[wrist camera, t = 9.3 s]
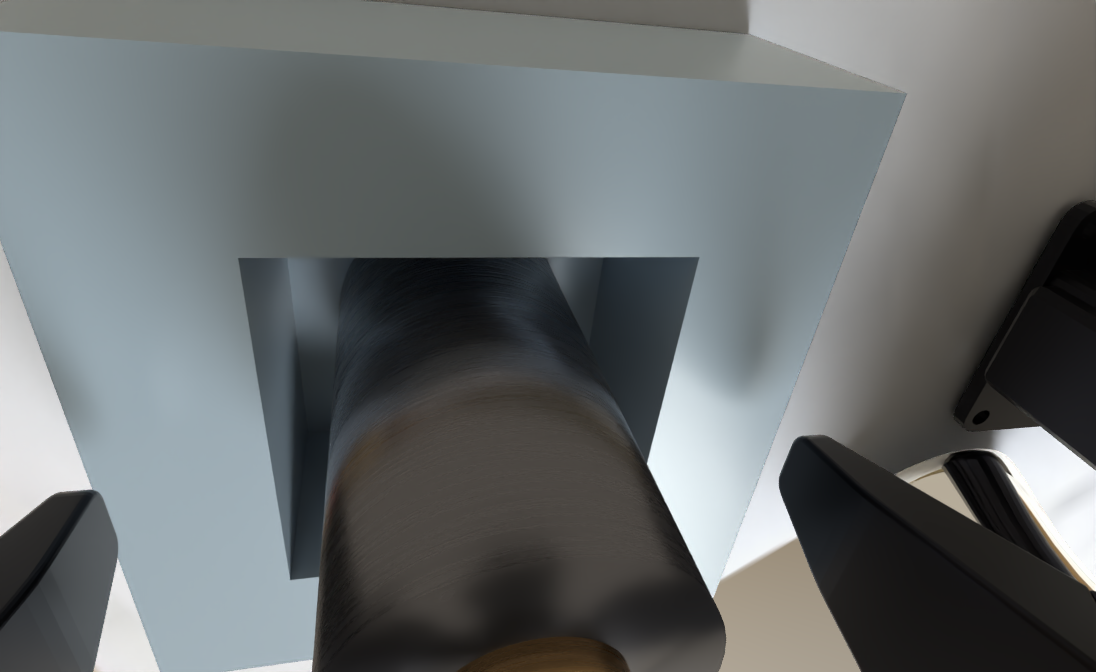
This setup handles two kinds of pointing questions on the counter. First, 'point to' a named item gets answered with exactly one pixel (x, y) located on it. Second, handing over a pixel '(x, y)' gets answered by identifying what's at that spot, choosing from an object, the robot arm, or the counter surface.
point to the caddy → (398, 251)
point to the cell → (491, 489)
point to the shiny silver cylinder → (997, 503)
